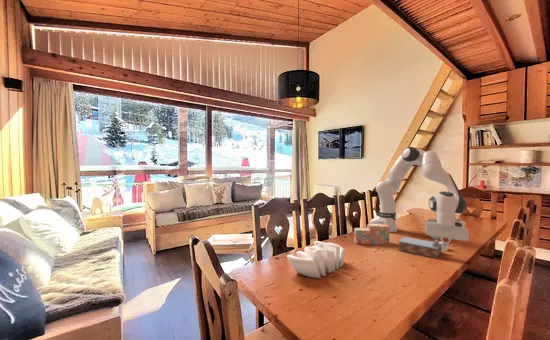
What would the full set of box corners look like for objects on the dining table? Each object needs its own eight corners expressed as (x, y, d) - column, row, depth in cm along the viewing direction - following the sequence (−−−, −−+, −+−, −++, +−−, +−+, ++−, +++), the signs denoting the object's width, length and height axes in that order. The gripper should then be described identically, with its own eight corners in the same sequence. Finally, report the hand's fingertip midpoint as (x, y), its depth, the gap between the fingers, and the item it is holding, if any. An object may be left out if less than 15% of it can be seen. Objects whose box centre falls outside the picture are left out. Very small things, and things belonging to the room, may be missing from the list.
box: (441, 253, 147) (441, 245, 147) (437, 259, 138) (437, 250, 138) (404, 245, 161) (404, 238, 161) (398, 251, 152) (398, 242, 152)
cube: (438, 250, 152) (438, 243, 152) (439, 248, 156) (439, 241, 156) (447, 252, 149) (447, 244, 149) (448, 250, 153) (448, 243, 153)
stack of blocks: (356, 244, 165) (356, 225, 165) (353, 241, 172) (353, 223, 171) (389, 244, 164) (389, 226, 163) (386, 241, 170) (386, 223, 169)
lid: (441, 244, 147) (441, 240, 147) (437, 249, 139) (437, 244, 139) (404, 237, 160) (404, 233, 160) (398, 242, 152) (399, 237, 152)
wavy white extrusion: (308, 284, 112) (307, 260, 112) (283, 271, 125) (283, 250, 125) (352, 263, 135) (352, 243, 134) (328, 254, 147) (327, 236, 147)
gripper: (423, 219, 145) (423, 242, 145) (468, 225, 131) (467, 251, 132) (426, 217, 150) (425, 240, 150) (469, 222, 136) (468, 247, 136)
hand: (445, 245), depth 141 cm, fingers closed
